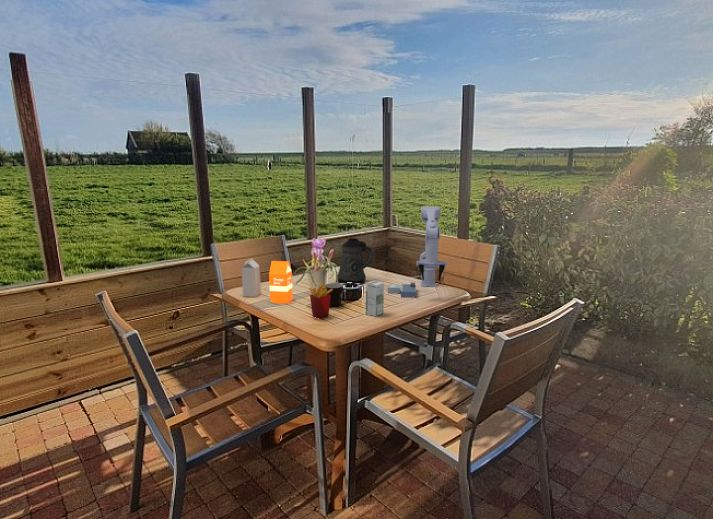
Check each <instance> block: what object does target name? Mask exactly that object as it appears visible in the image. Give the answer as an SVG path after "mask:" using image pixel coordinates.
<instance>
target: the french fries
mask: <svg viewBox="0 0 713 519" xmlns="http://www.w3.org/2000/svg"><path fill="white" fill-rule="evenodd" d="M326 284H327V283H325V284H323V283H321V284H320V285H319V286H318V288H316V287H313V288H312V287H309V291H310V292H311V294H310V295H309V298H310V306H311V311H312V312H311V313H312V318H315V317H316V318H315V319H318V318H319V319H318V320H323V319H325V317H326V318H328V316H329V315H330V296H331V295H328V293H329V292H331V291H333V290H332V289H330V290H328V291H327V289H326V286H327V285H326ZM322 318H323V319H322Z"/></svg>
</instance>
